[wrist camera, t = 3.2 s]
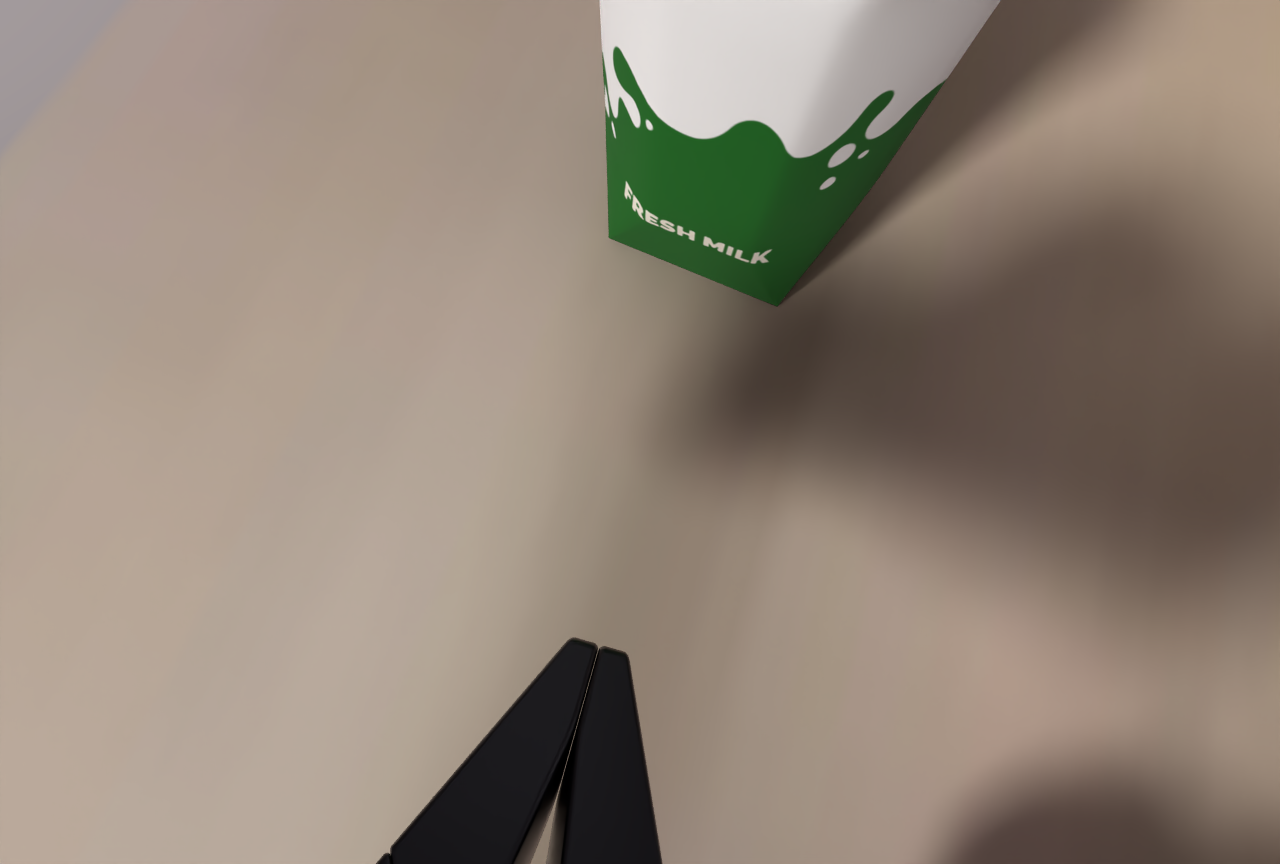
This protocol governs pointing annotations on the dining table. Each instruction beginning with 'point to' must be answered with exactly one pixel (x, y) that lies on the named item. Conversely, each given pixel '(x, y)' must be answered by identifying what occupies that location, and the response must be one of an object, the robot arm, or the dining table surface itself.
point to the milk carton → (763, 122)
